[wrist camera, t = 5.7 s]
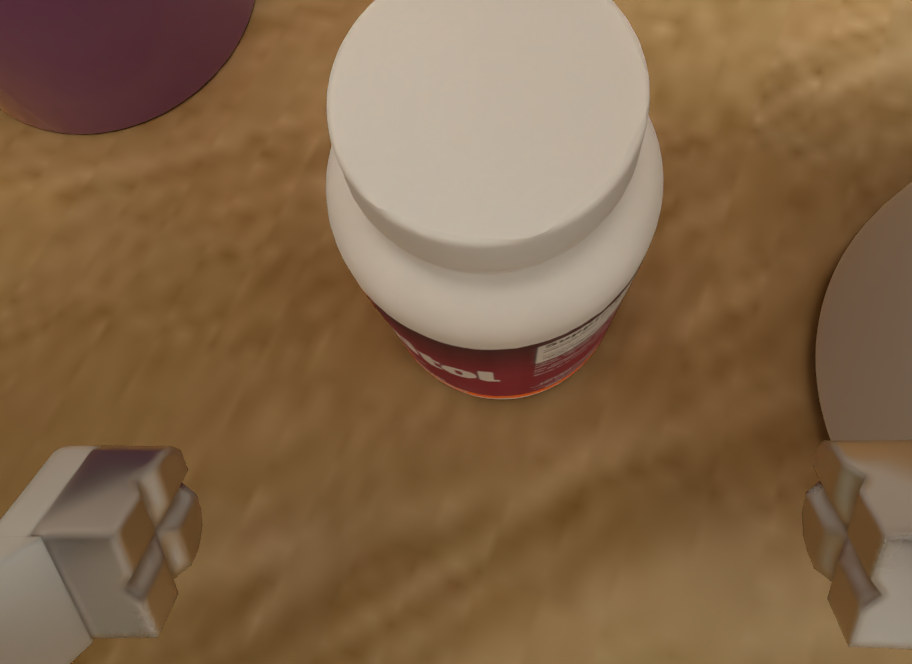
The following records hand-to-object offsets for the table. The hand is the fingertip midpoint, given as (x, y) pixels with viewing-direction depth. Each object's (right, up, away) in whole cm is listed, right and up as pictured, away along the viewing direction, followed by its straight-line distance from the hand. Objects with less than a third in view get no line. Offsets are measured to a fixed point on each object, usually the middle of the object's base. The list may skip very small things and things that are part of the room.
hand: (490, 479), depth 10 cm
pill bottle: (+1, +3, +12) cm, 12 cm away
